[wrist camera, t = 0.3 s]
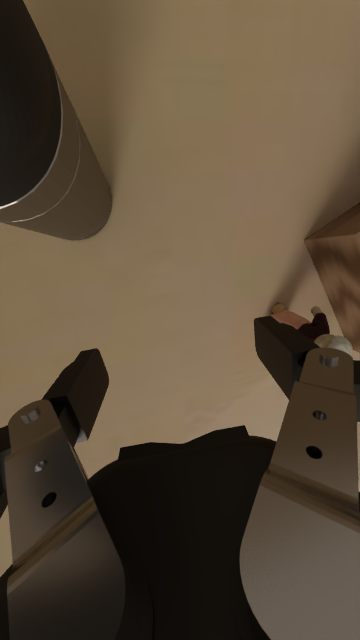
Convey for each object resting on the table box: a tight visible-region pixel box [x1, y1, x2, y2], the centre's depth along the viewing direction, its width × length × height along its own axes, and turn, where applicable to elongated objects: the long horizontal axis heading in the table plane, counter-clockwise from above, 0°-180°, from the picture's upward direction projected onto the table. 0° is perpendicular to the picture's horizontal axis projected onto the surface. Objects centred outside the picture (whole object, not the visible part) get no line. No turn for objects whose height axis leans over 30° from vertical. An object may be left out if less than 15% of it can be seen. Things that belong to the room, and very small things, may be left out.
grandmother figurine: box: [270, 303, 353, 355], centre depth 28 cm, size 8×4×13 cm, turn 162°
